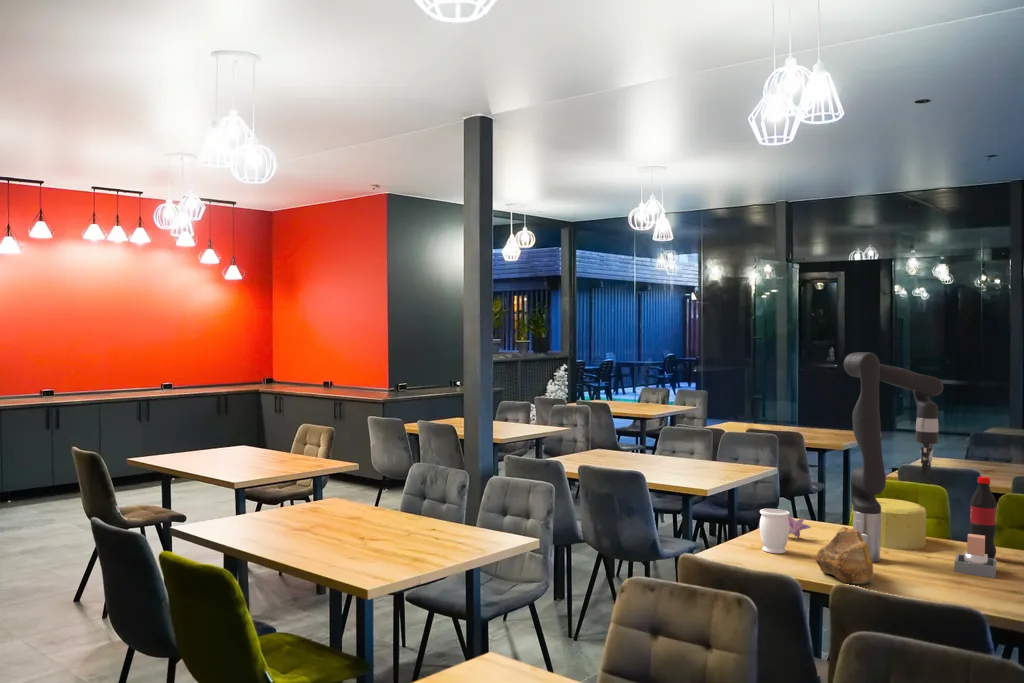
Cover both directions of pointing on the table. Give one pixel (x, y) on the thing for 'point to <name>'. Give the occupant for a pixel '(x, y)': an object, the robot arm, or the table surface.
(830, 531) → the table surface
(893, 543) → the cheese
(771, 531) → the jar
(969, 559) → the tin
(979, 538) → the pink block
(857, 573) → the rough brown rock
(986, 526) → the cola bottle
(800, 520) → the lily
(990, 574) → the tote
